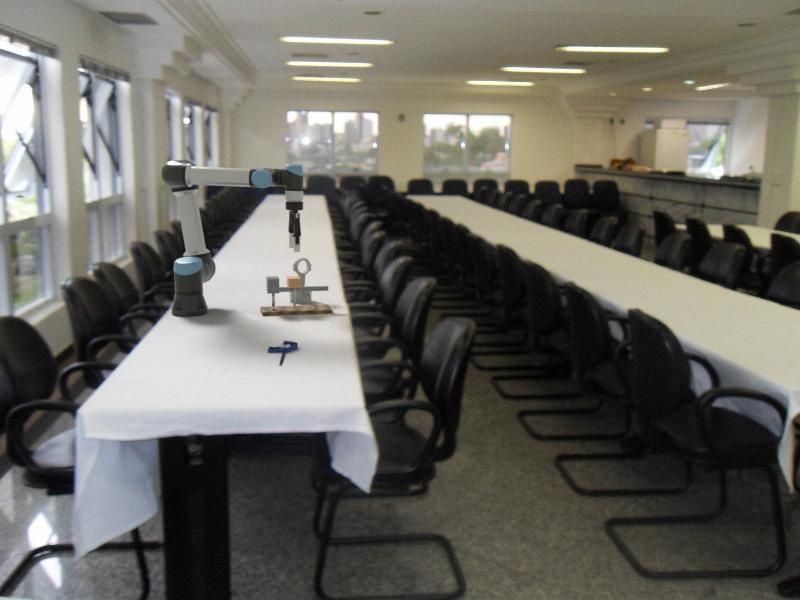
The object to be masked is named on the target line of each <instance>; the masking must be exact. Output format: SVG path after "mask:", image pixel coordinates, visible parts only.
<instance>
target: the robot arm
mask: <svg viewBox="0 0 800 600" xmlns="http://www.w3.org/2000/svg"><path fill="white" fill-rule="evenodd" d="M160 176H161V180H162V181H163V183H164V184H165V185H166V186H168V187H169V188H171V194H173V195H174V196H175V197H176V201H177V206H178V208H177V209H178V213H179V219H180V225H181V232H182V236H183V243H184V248H185V252H183V254H182V257H180V258H179V257H178V258H177V259H176V260H175V261H173V262H174V263H173V276H174V279H173V280H174V298H173V302H172V305H171V308H170V309H171V313H170V314H172V315H173V316H178V317H193V316H194V317H197V316H202V315H206V314H207V313H209V306H208V304H207V302H206V299H205V295H204V284H205V283H207V282H209V281H210V280H211V279H212V278H213V277H214V276H215V275H216V271H217V265H216V263H215V260H214V259H213V258H212V257H211V251H210V250H209V249H208V248H207V247H206V241H205V236H204V231H203V225H202V218H201V213H200V207H199V201H198V192H199V191H200V186H219V187H220V186H221V187H242V188H243V187H244V188H247V187H248V188H259V189H266V188H270V187H285V188H284V189H285V191H284V192H285V195H284V196H285V197H284V198H285V200H286V201H285V210H286V211H288V213H289V215H288V227H287V230H288V249H293V253H301V237H302V230H301V218H300V216H301V213H300V212H299V211H303V210H304V201H303V200H304V196H305V193H304V168H303V165H302V164H292V163H291V164H289V163H288V164H286V165H285V167H284V168H268V167H263V168H262V167H261V168H244V167H243V168H242V167H241V168H240V167H222V166H221V167H220V166H219V167H217V166H216V167H214V166H198V165H197V164H196V163H194V162H192V161H191V160H188V159H172V160H169V161H167V162H166V163H164V165H163V166H162V167H161V170H160Z"/></svg>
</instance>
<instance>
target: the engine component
mask: <svg viewBox="0 0 800 600" xmlns="http://www.w3.org/2000/svg"><path fill="white" fill-rule="evenodd" d="M302 261H303V262H305V263H306V268H305V270H304V271H302V272H301V271H300V270H299V263H301V262H302ZM292 266H293V267H292V271H293V272H295V273H296V274H297V276H299V277H300V287H305V286H306V275H307V274H308V273H309V272H310V271H312V263H311V262H310V260H309V259H308V258H305V257H298V258H297V259H296V260H295V261H294V263H293V265H292ZM289 303H290V304H293V292H289ZM310 303H312V291H298V292H296V305H303V304H304V305H305V304H310Z"/></svg>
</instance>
